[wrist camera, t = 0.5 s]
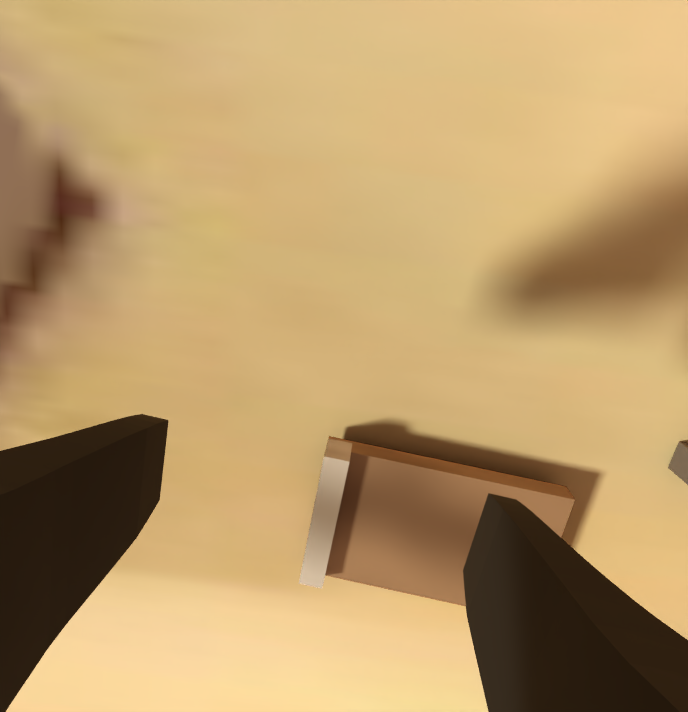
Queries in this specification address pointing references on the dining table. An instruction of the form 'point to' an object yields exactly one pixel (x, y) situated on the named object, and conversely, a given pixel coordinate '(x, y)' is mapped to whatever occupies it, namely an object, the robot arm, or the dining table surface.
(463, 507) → the brown slab
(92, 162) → the dining table surface
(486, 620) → the robot arm
